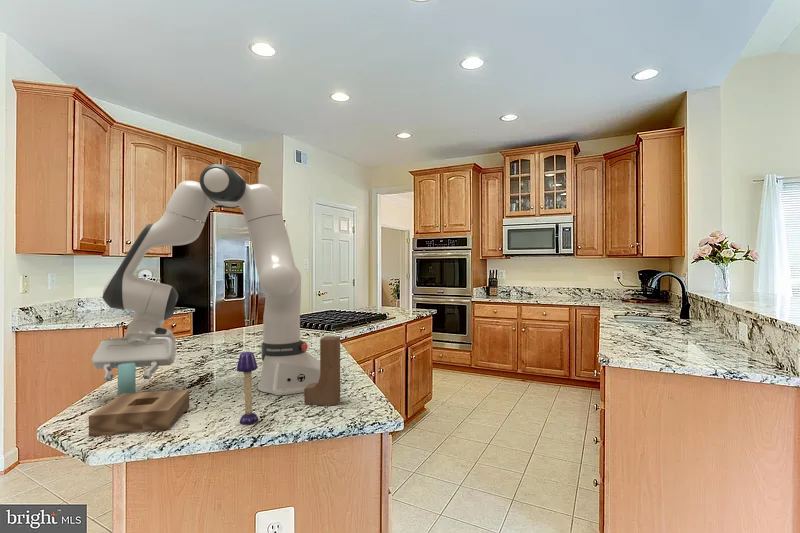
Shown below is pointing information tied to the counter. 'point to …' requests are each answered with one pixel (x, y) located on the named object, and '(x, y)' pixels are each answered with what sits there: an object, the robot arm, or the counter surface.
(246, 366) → the toy lamp
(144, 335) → the robot arm
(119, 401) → the bore block
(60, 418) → the counter surface
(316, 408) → the counter surface
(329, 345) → the wooden block
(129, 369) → the pin
